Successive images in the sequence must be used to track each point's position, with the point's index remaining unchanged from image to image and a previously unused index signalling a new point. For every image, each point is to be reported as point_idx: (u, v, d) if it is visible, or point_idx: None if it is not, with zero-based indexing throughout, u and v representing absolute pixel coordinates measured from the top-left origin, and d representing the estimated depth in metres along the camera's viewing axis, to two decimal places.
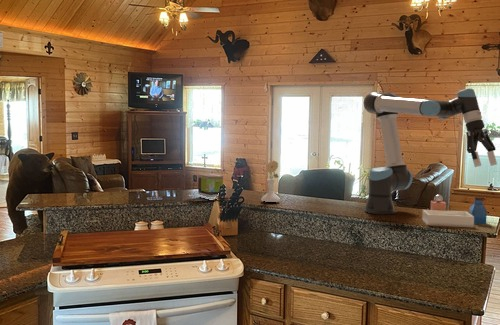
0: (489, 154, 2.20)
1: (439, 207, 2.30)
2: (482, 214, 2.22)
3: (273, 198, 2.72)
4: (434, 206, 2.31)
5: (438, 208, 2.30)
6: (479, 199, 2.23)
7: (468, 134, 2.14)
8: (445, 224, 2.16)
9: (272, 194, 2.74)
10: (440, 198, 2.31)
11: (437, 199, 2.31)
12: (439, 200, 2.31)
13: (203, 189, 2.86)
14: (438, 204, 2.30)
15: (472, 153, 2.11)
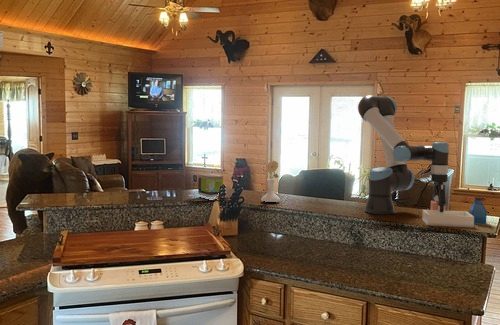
0: None
1: None
2: (482, 214, 2.22)
3: (273, 198, 2.72)
4: (434, 206, 2.31)
5: None
6: (479, 199, 2.23)
7: (441, 187, 2.26)
8: (445, 224, 2.16)
9: (272, 194, 2.74)
10: None
11: (437, 199, 2.31)
12: None
13: (203, 189, 2.86)
14: None
15: (441, 206, 2.25)
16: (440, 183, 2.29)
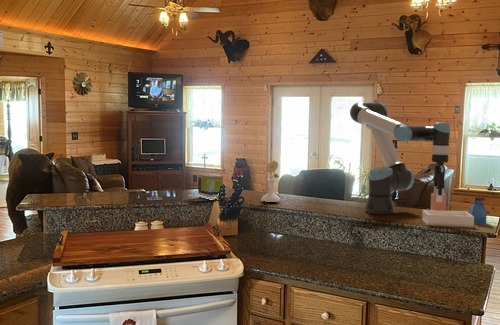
0: (435, 188, 2.36)
1: None
2: (482, 214, 2.22)
3: (273, 198, 2.72)
4: (435, 199, 2.31)
5: None
6: (479, 199, 2.23)
7: (441, 170, 2.26)
8: (445, 224, 2.16)
9: (272, 194, 2.74)
10: None
11: None
12: None
13: (203, 189, 2.86)
14: None
15: (440, 190, 2.28)
16: (441, 163, 2.28)
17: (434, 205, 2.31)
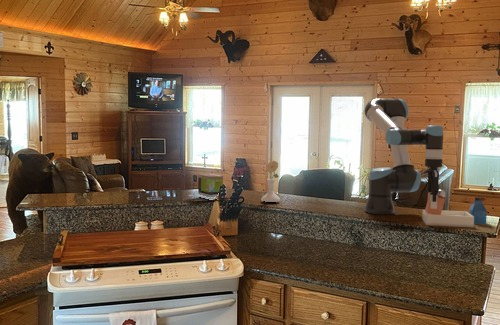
0: None
1: (437, 202, 2.19)
2: (482, 214, 2.22)
3: (273, 198, 2.72)
4: None
5: None
6: (479, 199, 2.23)
7: (435, 175, 2.15)
8: (445, 224, 2.16)
9: (272, 194, 2.74)
10: (444, 195, 2.20)
11: (441, 193, 2.20)
12: (441, 195, 2.20)
13: (203, 189, 2.86)
14: (437, 198, 2.19)
15: (434, 196, 2.17)
16: (434, 168, 2.18)
17: None
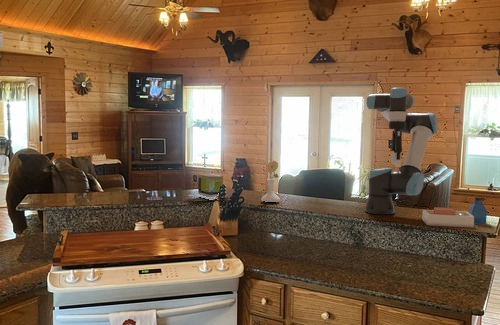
0: (393, 153, 2.31)
1: None
2: (482, 214, 2.22)
3: (273, 198, 2.72)
4: (451, 211, 2.18)
5: None
6: (479, 199, 2.23)
7: (398, 134, 2.17)
8: (445, 224, 2.16)
9: (272, 194, 2.74)
10: (461, 215, 2.19)
11: None
12: None
13: (203, 189, 2.86)
14: None
15: (398, 153, 2.16)
16: (397, 130, 2.20)
17: (444, 211, 2.19)
